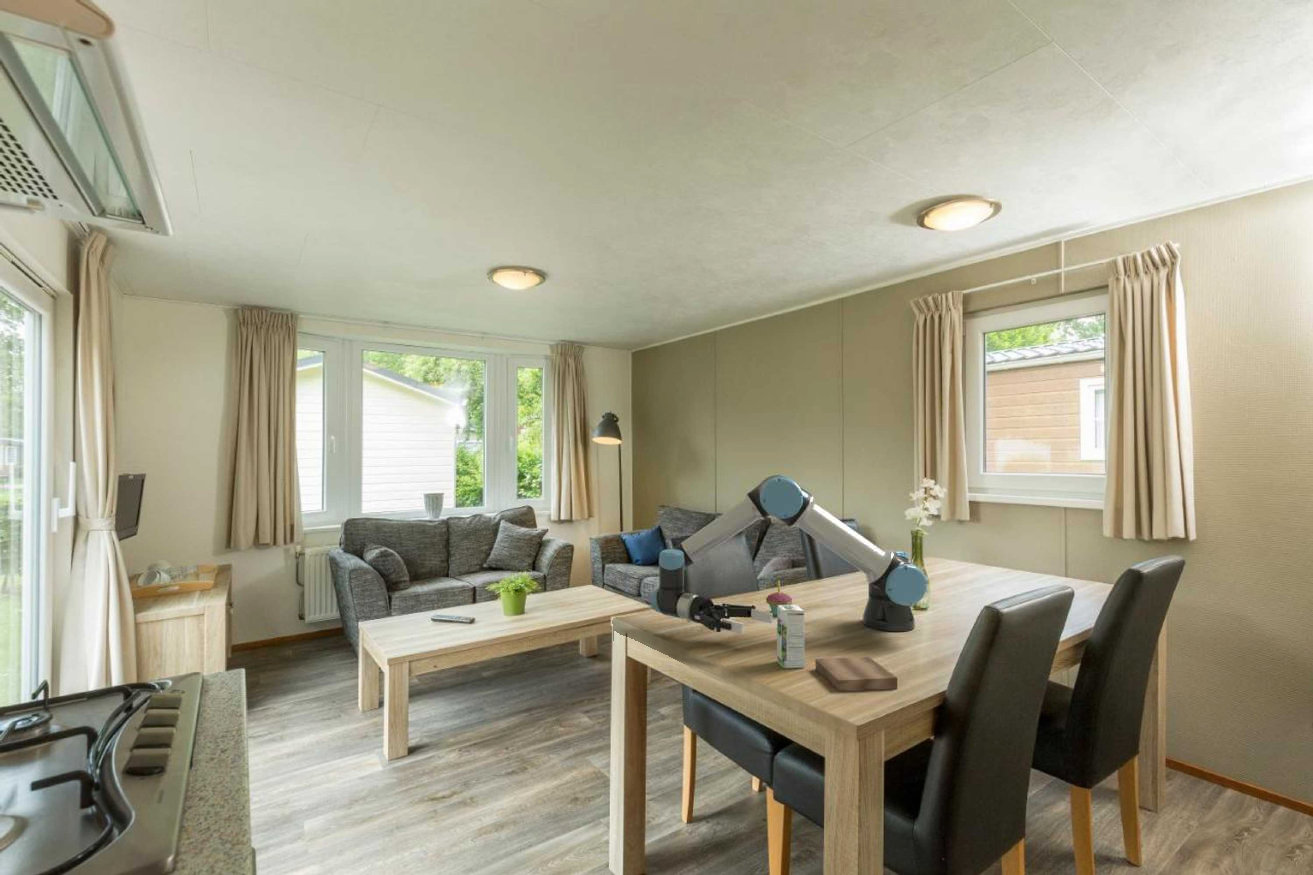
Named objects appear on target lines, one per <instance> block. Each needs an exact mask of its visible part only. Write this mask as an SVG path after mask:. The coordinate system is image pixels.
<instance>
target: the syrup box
mask: <svg viewBox="0 0 1313 875" xmlns="http://www.w3.org/2000/svg"><path fill="white" fill-rule="evenodd" d="M805 614H806V613H805V610H803V608H802V607H800V606H799V605H795V604H791V605H779V606H778V607H777V616H776V617H777V621H776V626H777V627H776V629H777V630H776V661H777V663H778V664H779V665H780V666H781V668H782V669H801V668H805V628H806V627H805V622H806V621H805V618H806V617H805Z"/></svg>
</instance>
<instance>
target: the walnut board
mask: <svg viewBox="0 0 1313 875" xmlns="http://www.w3.org/2000/svg"><path fill="white" fill-rule="evenodd" d="M815 671H817V672H818V673H819V674H820V676H822V677H823V678H824V679H825V680H826V681H827V682H828V683H829V684H830V685H831V686H833V688H834V689H836V690H837V692H855V691H877V690H878V691H879V690H895V689H894V688H897V689H898V677H897V676H896V675H894V674H893V673H891V672H890V670H887V669H886V668H884V666H882V665H881V664H880V663H878V662H877V661H875V660H874V659H873V658H871V657H870V656H857V657H854V656H853V657H837V658H816V659H815Z"/></svg>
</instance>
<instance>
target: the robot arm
mask: <svg viewBox="0 0 1313 875" xmlns="http://www.w3.org/2000/svg"><path fill="white" fill-rule="evenodd" d="M769 516H771V517H775V518H776V519H777V520H779V521H780V522H782V523H783V524H785V525H786V526H787V527H789V528H795V527H796V528H799V529H801V530H802V531H803V532H805V533H806V534H807V535H809V536H811V537H812V538H813V539H815V540H816V541H818V543H821V544H822V545H823V546H825V547H826V548H827V549H829V550H830V551H832V552H833V553H835V554H836V555H838V557H840V558H842V559H843V560H845V561H846V562H848V563H849V564H850V565H852V566H853V567H854V568H856V569H857V570H858V571H860V572H862V573H863V574H864V575H865V578H866V582H867V583H868V586H867V587H868V598H867V602H866V605H865V609H864V611H863V614H862V623H863V625H865V626H867V627H868V628H872V629H876V630H880V631H886V632H909V631H912V630H914V629H915V627H916V623H915V617H914V613H913V610H912V608H911V606H912V605H915V604H917V603H919V602H920V601H921V600H922V599H924V597H925V596H926V593H927V591H928V580H927V576H926V575H925V573H924V572H923V570H922V569H921V568H919V567H918V566H916V565H915V564H912V563H911V562H909V555H908V552H906V551H903V550H892V549H884V550H882V548H880V547H878V546H877V545H876V544H874V543H873V542H871V541H870V540H868V539H867V538H866V537H864V536H862V535H861V533H858V532H857V531H856V530H855V529H853V528H851V527H850V526H849V525H847V524H845V523H844V522H842V521H841V520H840V519H838V518H837V517H836V516H834V515H833V514H831V513H830V512H828V511H827V510H826V509H824V508H822V507H821V506H820V505H818V504H817V503H815V498H814V495H813V494H812V493H810V492H809V491H807V490H806V489H805V488H803V487H802V486H800V485H798V483H797V482H796V481H795V480H794V479H792V478H790V477H786V476H784V475H780V474H776V475H770V476H768V477H766V478H765V479H763V480H762V481H761V482H760V483H759V484H758V485H756V486H755V487H754V488H753V489H752V490H751V491H748V492H747V493H746V494H745V498H744V500H742V501H740V502H739V503H737V504H735V505H734V506H733V507H732V508H730V509H729V510H727V511H726V512H723V513H722V514H721V515H720V516H718V517H717V518H716V519H714V520H712V521H711V522H710V523H708V524H707V525H704V527H702V528H701V529H700V530H698V531H697V532H695V533H693V534H692V535H691V536H689V537H688V538H686V539H685V540H683V541H682V542H680V543H679V544H677V545H676V546H674V547H673V548H670V549H663V550H661V551H660V553H659V558H658V566H659V567H658V570H659V574H658V575H659V577H658V580H659V586H658V587H657V588H656V589H655V590H654V591H653V592H652V597H651V598H650V599H651V600H650V603H651V608H652V609H653V610H654V611H655V612H657V613H659V614H661V615H664V616H670V617H674V618H677V619H682V620H686V621H687V622H688V623H691V622H693V623H697V624H699V625H700V624H701V625H703V626H704V627H706V628H707V629H708V630H710V631H715V630H716V632H717V633H721V631H722V630H723V631H727V632H731V633H735V634H738V635H744V634H745V633H744V632H745V623H744V622H740V621H734V620H731V619H730V618H751V620H755V621H758V622H763V623H767V624H774V623H773V618H774V617H773V613H772V612H769V611H765V610H759V609H757V608H756V606H755V605H753V604H752V605H751V606H750V605H739V604H729V603H725V602H724V603H722V604H714V602H713V600H712V599H711V598H710V597H705V596H701V595H698V594H692V593H689V592H688V593H687V592H685V570H686V569H687V568H689V567H690V566H692V565H694V563H696V562H697V561H698V560H700V559H702V558H703V557H705V556H706V555H708V554H709V553H710V552H712V551H714V550H715V549H716V548H718V547H719V546H721V545H723V543H726V542H727V541H729V540H730V539H732V538H733V537H734V536H736V535H738V533H740V532H742V531H744V529H746V528H747V527H749V526H751V525H753V523H755V522H756V521H758V520H765V519H767V518H768V517H769Z"/></svg>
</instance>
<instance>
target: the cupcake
mask: <svg viewBox="0 0 1313 875" xmlns="http://www.w3.org/2000/svg"><path fill="white" fill-rule="evenodd" d="M792 599H793V598H792V597H791V596H790V595H788V594H787V593H784V592H781V582H780V580H777V591H776V592H773V593H770V594H768V595H767V597H766V598H765V603H767V604H768V606H769V607H770V610H771V613H773V614H774V616H776V615H777V607H778V606H779V605H793V601H792Z"/></svg>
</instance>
